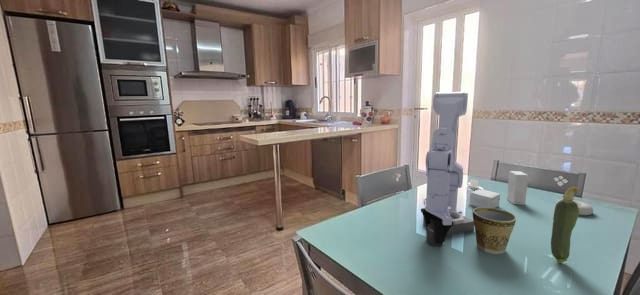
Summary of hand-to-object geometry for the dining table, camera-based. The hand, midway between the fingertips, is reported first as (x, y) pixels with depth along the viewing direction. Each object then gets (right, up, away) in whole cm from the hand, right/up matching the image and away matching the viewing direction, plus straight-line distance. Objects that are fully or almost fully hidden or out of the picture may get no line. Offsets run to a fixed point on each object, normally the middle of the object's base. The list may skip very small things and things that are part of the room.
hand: (434, 237), depth 79 cm
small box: (+31, +3, +28) cm, 42 cm away
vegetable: (+27, -3, -10) cm, 29 cm away
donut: (+59, +2, +21) cm, 63 cm away
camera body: (+8, 0, +10) cm, 13 cm away
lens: (0, -1, 0) cm, 1 cm away
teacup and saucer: (+41, +7, +49) cm, 65 cm away
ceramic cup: (+15, -2, -2) cm, 15 cm away
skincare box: (+45, +4, +31) cm, 55 cm away
